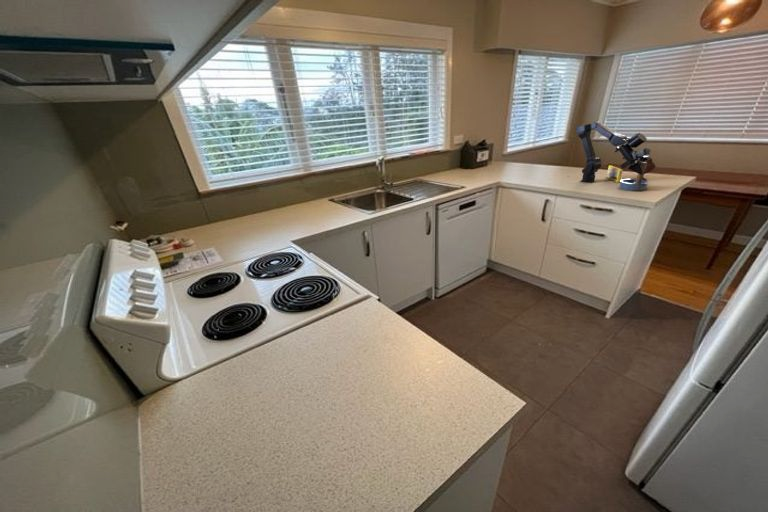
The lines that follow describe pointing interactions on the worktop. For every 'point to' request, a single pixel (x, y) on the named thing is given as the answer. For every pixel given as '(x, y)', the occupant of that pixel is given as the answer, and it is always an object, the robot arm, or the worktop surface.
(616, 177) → the candy box
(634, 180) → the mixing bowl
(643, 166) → the stirring stick
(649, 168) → the brown tree model
